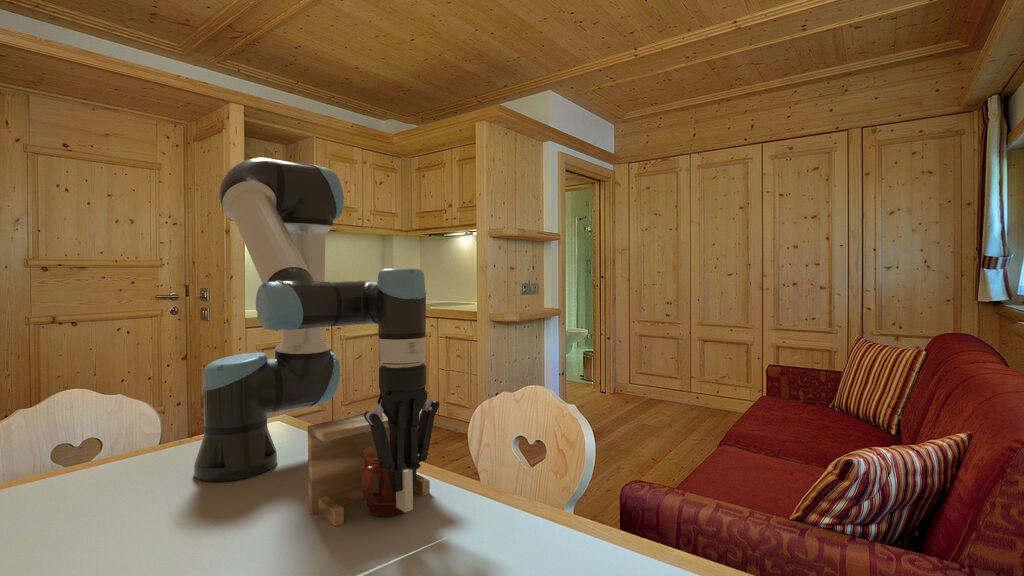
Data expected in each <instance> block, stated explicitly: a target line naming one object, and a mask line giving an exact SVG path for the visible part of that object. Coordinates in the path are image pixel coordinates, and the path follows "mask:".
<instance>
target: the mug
mask: <svg viewBox="0 0 1024 576" xmlns="http://www.w3.org/2000/svg"><path fill="white" fill-rule="evenodd" d="M389 446H390V442H389ZM362 457H363V460H364V463H365V467H366V468H365V470H364V472H363V475H362V491H363V495H364V497H365V498H364V500H365V501H366V503H365V504H366V508H367V511H368V512H369V513H370V514H372V515H373V516H375V517H379V518H380V517H381V518H388V517H389V518H391V517H393V516H397V515H398V516H399V515H400V514H402V513H404V512H403V511H402V510H400V509H398V508H397V507H396V491H395V490H393V489H392V472H391V471H388V470H386V469H384V468H382V467H381V466H380V464H379V460H378V455H377V451H376V447H375V444H372V445H370V446H367V447H366V448H364V449H363V450H362ZM404 466H405V463H404Z"/></svg>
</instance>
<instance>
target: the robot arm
mask: <svg viewBox="0 0 1024 576" xmlns="http://www.w3.org/2000/svg"><path fill="white" fill-rule="evenodd" d="M343 189H344V188H343V185H342V183H341V180H340V178H339V177H338V175H337V174H336V173H335V171H333V170H332V169H330V168H329V167H322V166H320V165H315V164H309V163H303V162H302V163H301V162H294V161H285V160H280V159H272V158H267V157H255V158H251V159H250V158H249V159H245V160H243V161H241V162H239V163H238V164H236V165H234V166H233V167H232V168H231V169H229V171H228V172H227V173H226V174H225V176H224V177H223V179H222V181H221V183H220V185H219V195H218V196H219V202H220V204H221V207H222V209H223V212H224V213H225V215H226V216H227V217H228V219H230V220H231V221H233V222H234V223H235V224H236V227H237V228H238V231H239V234H240V236H241V238H242V241H243V243H244V245H245V247H246V249H247V252H248V254H249V256H250V259H251V261H252V263H253V265H254V267H255V270H256V272H257V276H259V279H260V281H261V284H260V285H259V287H258V289H257V292H256V297H255V310H256V315H257V319H258V322H259V325H261V327H263V328H264V329H267V330H269V331H270V330H272V331H274V330H277V331H278V330H281V331H282V340H281V342H280V343H279V344H278V345H277V346H276V347H275V348H274V357H271V358H268V356H267V354H266V353H264V352H260V351H259V352H249V353H239V354H235V355H230V356H225V357H222V358H219V359H216V360H214V361H211V362H210V363H208V364H207V365H206V366H205V367H204V370H203V377H202V378H203V379H202V381H203V382H202V386H201V389H202V391H203V397H202V398H203V399H202V400H203V438H202V441H201V444H200V447H199V449H198V452H197V456H196V458H195V462H194V468H193V469H194V470H193V471H194V477H195V479H197V480H199V481H204V482H218V483H219V482H229V481H230V482H231V481H237V480H242V479H247V478H251V477H254V476H258V475H261V474H262V473H266V472H267V471H270V470H271V469H273V468H274V467H275V466H276V465H277V463H278V457H277V456H278V452H277V449H276V446H275V444H274V441H273V438H272V436H271V434H270V430H269V426H268V414H270V413H276V412H282V411H288V410H293V409H294V410H295V409H298V408H299V409H300V408H305V407H307V408H310V407H314V406H315V407H316V406H318V405H321V404H325V403H327V402H329V401H330V400H332V399H333V398H334V396H335V395H336V393H337V391H338V388H339V385H340V381H341V365H340V360H339V357H338V355H336V353H334V352H333V351H331V348H332V347H331V346H330V344H329V343H328V342H326V341H325V328H326V327H344V326H345V327H346V326H358V325H359V326H361V325H377V326H378V362H379V363H380V366H379V368H378V387H379V397H378V399H377V405H376V406H375V407H374V408H373V409H371V411H368V410H367V411H365V412H364V414H363V415H364V418H365V419H366V421H367V422H368V423H369V425H370V427H371V431H372V435H373V439H374V443H375V447H376V451H377V455H378V460H379V464H380V466H381V467H382V468H384V469H386V470H388V471H391V472H392V489H393V490H395V491H396V507H397V508H398V509H400V510H402V511H403V512H402V513H408V512H410V511H413V510H414V500H413V499H414V491H413V487H414V486H416V483H417V479H416V474H417V470H418V469H420V467H421V462H426V461H427V459H428V454H429V448H430V443H431V438H432V432H433V428H434V422H435V417H436V414H437V411H438V409H439V408H440V402H439V401H436V400H433V399H431V398H430V397H428V392H427V391H426V386H427V366H426V364H425V363H423V362H425V361H426V360H427V346H426V345H427V344H426V343H427V338H426V337H427V336H426V334H427V329H426V327H427V324H426V323H427V321H426V320H427V319H426V318H427V290H426V283H425V281H426V280H425V273H424V272H423V270H422V269H419V268H408V267H407V268H406V267H405V268H403V267H401V268H399V267H398V268H397V267H395V268H382V269H380V270H379V272H378V274H377V280H376V281H375V280H357V281H355V280H354V281H353V280H352V281H351V280H350V281H347V280H346V281H345V280H343V281H330V280H329V281H327V280H326V281H325V279H326V277H325V276H326V237H327V236H326V235H327V233H329V232H330V231H331V230H332V229H333V228H334V226H333V225H334V224H333V223H334V221H336V220H339V219H340V218H341V216H342V215H343V210H344V207H345V206H344V204H345V197H344V191H343ZM421 409H422V411H421ZM420 411H421V415H420V420H419V413H420ZM382 413H384V414H385V416H386V417H387V418H388V426H389V433H390V446H389V442H388V438H387V434H386V430H385V426H384V424H383V422H382V421H383V420H384V418H383V414H382ZM404 463H405V466H404Z"/></svg>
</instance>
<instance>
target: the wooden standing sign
mask: <svg viewBox="0 0 1024 576" xmlns="http://www.w3.org/2000/svg"><path fill="white" fill-rule="evenodd" d="M421 411H422V409H421ZM421 411H420V413H419V420H420V415H421ZM382 414H383V418H384V420H383V421H382V422H383V424H384V426H385V430H386V434H387V438H388V442H390V433H389V426H388V418H387V417H386V416H385V414H384V413H382ZM372 444H375V443H374V439H373V435H372V431H371V427H370V425H369V423H368V422H367V421H366V419H365V418H364V414H360V415H355V416H350V417H346V418H341V419H335V420H331V421H330V420H329V421H326V422H325V421H324V422H321V423H315V424H311V425H307V469H308V471H307V472H308V473H307V474H308V476H307V478H308V479H307V480H308V482H307V483H308V513H309V514H311V516H314V515H317V514H319V515H320V516H321V517H322V518H323V519H324V520H326V521H327V522H329V523H330V524H331V525H333V526H334V527H338V526H341V525H343V524H345V516H344V515H345V509H344V507H343V506H344V505H348V504H350V503H353V502H357V501H360V500H362V499H365V497H364V495H363V491H362V475H363V472H364V470H365V468H366V467H365V463H364V460H363V457H362V450H363V449H364V448H366V447H367V446H370V445H372ZM416 479H417V483H416V486H414V487H413V492H415V493H417V494H419V495H421V496H422V497H424V496H426V495H429V494H430V491H431V489H430V488H431V487H430V486H431V485H430V483H431V481H430V479H428V478H426V477H424V476H422V475H420V474H418V473H416Z"/></svg>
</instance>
